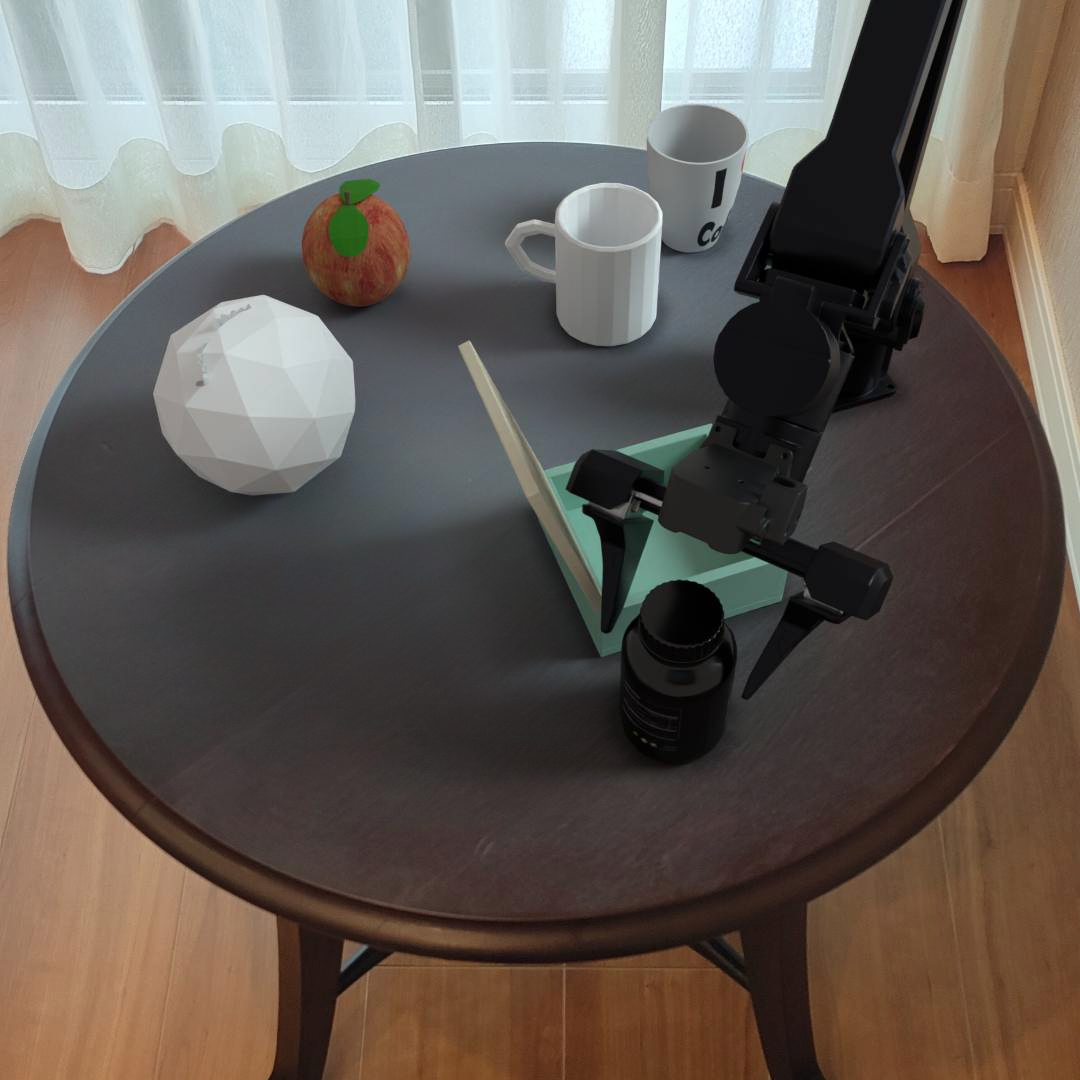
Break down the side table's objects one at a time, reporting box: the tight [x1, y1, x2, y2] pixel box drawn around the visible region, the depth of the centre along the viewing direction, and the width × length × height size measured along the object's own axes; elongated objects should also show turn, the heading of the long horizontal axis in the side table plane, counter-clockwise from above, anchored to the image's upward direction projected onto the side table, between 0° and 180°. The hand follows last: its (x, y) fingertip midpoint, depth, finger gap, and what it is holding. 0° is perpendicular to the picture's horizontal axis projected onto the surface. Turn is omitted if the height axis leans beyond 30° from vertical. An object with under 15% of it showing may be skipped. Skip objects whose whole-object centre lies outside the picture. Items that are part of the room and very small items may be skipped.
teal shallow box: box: [537, 423, 789, 658], centre depth 89 cm, size 13×13×5 cm
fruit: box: [301, 178, 411, 307], centre depth 105 cm, size 9×10×10 cm
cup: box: [645, 103, 750, 254], centre depth 109 cm, size 8×8×10 cm
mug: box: [504, 182, 663, 347], centre depth 103 cm, size 8×12×10 cm, turn 86°
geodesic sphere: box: [152, 294, 356, 496], centre depth 92 cm, size 15×14×14 cm
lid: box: [458, 340, 602, 612], centre depth 80 cm, size 14×13×1 cm
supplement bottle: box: [619, 579, 738, 764], centre depth 79 cm, size 7×7×12 cm
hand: (674, 664), depth 77 cm, fingers open, 9 cm apart
